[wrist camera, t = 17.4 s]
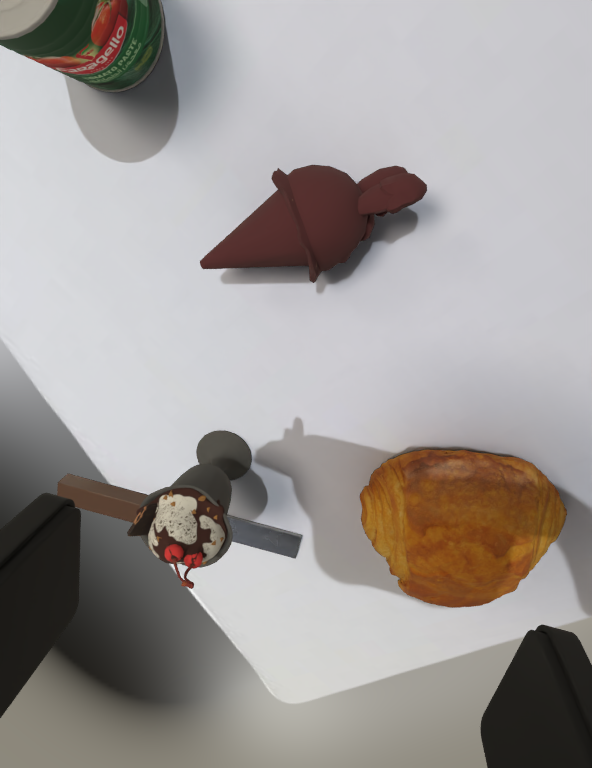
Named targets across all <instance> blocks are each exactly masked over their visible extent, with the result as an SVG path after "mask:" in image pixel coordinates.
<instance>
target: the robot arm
mask: <svg viewBox="0 0 592 768" xmlns="http://www.w3.org/2000/svg"><path fill="white" fill-rule="evenodd" d="M80 522H81V513H80V510H79V509H77V508H75V503H74V501H73V500H71V499H68V498H64V497H61V496H57V495H53V494H49V493H44V494H42V495H40V496H39V497H38V498H37V499H35V500H34V501H33V502H32V503H31V504H30V505H28V506H27V507H26V508H25V509H24V510H23V511H21V512H20V513H19V514H18V515H17V516H16V517H14V518H13V519H12V520H11V521H10V522H9V523H7V524H6V525H5V526H4V527H3V528H2V529H1V530H0V718H1V716H2V715H3V714H4V712H5V711H6V710H7V708H8V707H9V706H10V704H11V703H12V701H13V700H14V699H15V697H16V696H17V695H18V693H19V692H20V690H21V689H22V688H23V686H24V685H25V684H26V682H27V681H28V679H29V678H30V677H31V675H32V674H33V673H34V671H35V670H36V668H37V667H38V666H39V664H40V663H41V661H42V660H43V659H44V657H45V656H46V655H47V653H48V652H49V651H50V649H51V648H52V646H53V645H54V644H55V642H56V641H57V640H58V638H59V637H60V635H61V634H62V632H63V631H64V630H65V629H66V627H67V626H68V624H69V623H70V621H71V620H72V618H73V617H74V615H75V613H76V610H77V607H78V602H79V567H80V524H81V523H80ZM481 738H482V743H483V748H484V753H485V757H486V762H487V767H488V768H592V665H591V663H590V661H589V659H588V657H587V655H586V653H585V651H584V649H583V646H582V644H581V642H580V640H579V639H578V637H577V636H576V635H575V634H574V633H572V632H568V631H565V630H561V629H557V628H553V627H550V626H546V625H540V626H538V627H537V629H536V630H535V631H534V630H530V631H528V632H527V634H526V635H525V637H524V639H523V641H522V643H521V645H520V647H519V649H518V650H517V652H516V654H515V656H514V658H513V660H512V662H511V664H510V665H509V667H508V669H507V671H506V673H505V675H504V677H503V679H502V680H501V682H500V684H499V686H498V688H497V690H496V692H495V694H494V696H493V697H492V699H491V701H490V703H489V705H488V707H487V709H486V711H485V713H484V714H483V717H482V721H481Z"/></svg>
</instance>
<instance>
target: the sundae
mask: <svg viewBox="0 0 592 768" xmlns="http://www.w3.org/2000/svg"><path fill="white" fill-rule="evenodd" d="M197 458H198V462H199V465H196V466H194V467H192V468H190V469H189V470H188V471H186V472H185V473H184V474H182V475H181V476H180V477H179V478H178V479H177V480H176V481H175V482H174V483H173V484H172V485H171V486H170V487H166V488H163V489H160V490H158V491H156V492H154V493H151V494H150V495H148V496H147V497H146V498H145V499H144V500H143V502H142V503H141V505H140V508H138V509H137V510H136V514H137V517H136V519H135V521H134V523H133V525H132V526H131V528H130V529H129V531H128V532H127V533H128V536H141V538H142V539H143V541H144V543H145V544H146V546H147V547H148V548H149V549H150V550H151V551H152V552H153V553H154V554H155V555H156V556H157V557H158V558H159V559H160V560H162V561H164V562H166V563H170V564H174V566H175V570H176V572H177V575H178V577H179V578H180V580H181V581H182V582H183V583H182V586H187V587H189V588H191V589H192V588H193V587H194V583H193V582H191V581H189V580H188V579H187V578H186V576H187V574H188V572H189V571H190V570H191V568H193V569H194V568H197V567H205V566H208V565H211V564H213V563H215V562H217V561H218V560H219V559H220V558H221V557H222V556H223V555H224V554H225V553H226V552H227V551H228V549H229V547H230V545H231V542H232V539H233V532H232V528H231V525H230V523H229V520H228V518H227V513H228V509H229V505H230V501H231V492H232V486H231V482H230V480H234V479H237V478H239V477H241V476H243V475H244V474H245V473H246V472H247V471H248V469H249V467H250V464H251V453H250V450H249V448H248V446H247V444H246V443H245V442H244V441H243V440H242V439H241V438H240V437H239V436H237V435H236V434H233V433H231V432H227V431H214V432H211V433H209V434H207V435H205V436H204V437H203V438H202V439H201V440H200V442H199V444H198V447H197ZM177 564H182V565H185V566H187V567H189V568H188V569H187V570H186V571H185V574H184V579H185V580H186V581H185V580H183V579H182V578H181V576H180V573H179V571H178V567H177Z"/></svg>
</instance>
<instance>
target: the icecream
mask: <svg viewBox="0 0 592 768" xmlns="http://www.w3.org/2000/svg"><path fill="white" fill-rule="evenodd" d="M272 181H273V183H274V184H275V186H276V187H277V188H278V190H277V191H276V192H275V193H274V194H273V195H272V196H271V197H270V198H268V199H267V200H266V201H265V202H264V203H263V204H262V205H261V206H260V207H259V208H258V209H256V210H255V211H254V212H253V213H252V214H251V215H250V216H249V217H248V218H247V219H246V220H244V221H243V222H242V223H241V224H240V225H239V226H238V227H237V228H236V229H235V230H234V231H232V232H231V233H230V234H229V235H228V236H227V237H226V238H225V239H224V240H223V241H222V242H220V243H219V244H218V245H217V246H216V247H215V248H214V249H213V250H211V251H210V252H209V253H208V254H207V255H206V256H205V257H204V258H203V259H202V260H201V261H200V264H201V267H202V268H203V269H223V268H250V267H281V266H309V274H310V281H312V282H313V283H314V282H315V281H316V279H317V277H318V276H319V274H320V273H321V271H327V270H330V269H331V268H333V267H334V266H335V265H337V264H338V263H344V262H346V261H347V260H348V259H349V258H350V255H351V253H352V252H353V250H354V249H355V248H356V247H357V246H358V244H359V242H360V241H365V240H366V239H368V238H369V237H370V235H371V232H372V230H373V227H374V225H375V220H374V214H375V215H376V216H380V217H383V216H384V215H385V214H386V213H387V212H390V213H392V214H394V213H397V212H398V211H400V210H401V209H403V208H405V207H407V206H410V205H412V204H414V203H416V202H417V201H419V200H421V199H422V198H423V196H424V195H425V193H426V191H427V185H426V184H425V183H424V182H423V181H422V180H421V179H420V178H418V177H417V176H416V175H415V174H410V173H408V172H407V171H406V170H405V168H403V167H399V166H392V167H387V168H382V169H379V170H377V171H375V172H374V173H372V174H370V175H369V176H367V177H365V178H364V179H362V180H361V181H360V182H359V183H358V184H356V183H355V182H354V181H353V180H352V179H351V177H350V176H349V175H348V174H347V173H345V172H342V171H340V170H337V169H335V168H333V167H330V166H320V165H310V166H306V167H302V168H298V169H294V170H293V171H292V172H291V173H290V174H289V175H286V174H285V173H284V172H282V171H281V170H280V169H279V168H278V170H277V171H274V173H273V175H272Z"/></svg>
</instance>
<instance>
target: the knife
mask: <svg viewBox="0 0 592 768" xmlns="http://www.w3.org/2000/svg"><path fill="white" fill-rule="evenodd" d="M57 496H61V497H64V498H68V499H71V500H73V501H74V503H75V507H78V508H82V509H85V510H89V511H92V512H96V513H100V514H103V515H107V516H111V517H114V518H118V519H122V520H125V521H129V522H133V523H134V521H135V519H136V517H137V514H136V510H137V509H138V508H140V505H141V503H142V502H143V500H144V499H145V498H146V497H147V496H148V495H145V494H142V493H138V492H134V491H130V490H127V489H123V488H119V487H116V486H112V485H108V484H105V483H101V482H97V481H94V480H90V479H86V478H82V477H79V476H75V475H72V474H67V475H66V476H65V477H64V478H62V480H60V481H59V482H58V493H57ZM227 518H228V520H229V523H230V525H231V528H232V532H233V539H232V541H233V542H237V543H240V544H244V545H248V546H251V547H255V548H259V549H262V550H266V551H270V552H273V553H277V554H281V555H284V556H288V557H292V558H296V555H297V551H298V548H299V544H300V541H301V537H302V535H300V534H296V533H292V532H288V531H285V530H281V529H277V528H274V527H270V526H266V525H263V524H259V523H255V522H252V521H248V520H244V519H241V518H237V517H233V516H230V515H227Z"/></svg>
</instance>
